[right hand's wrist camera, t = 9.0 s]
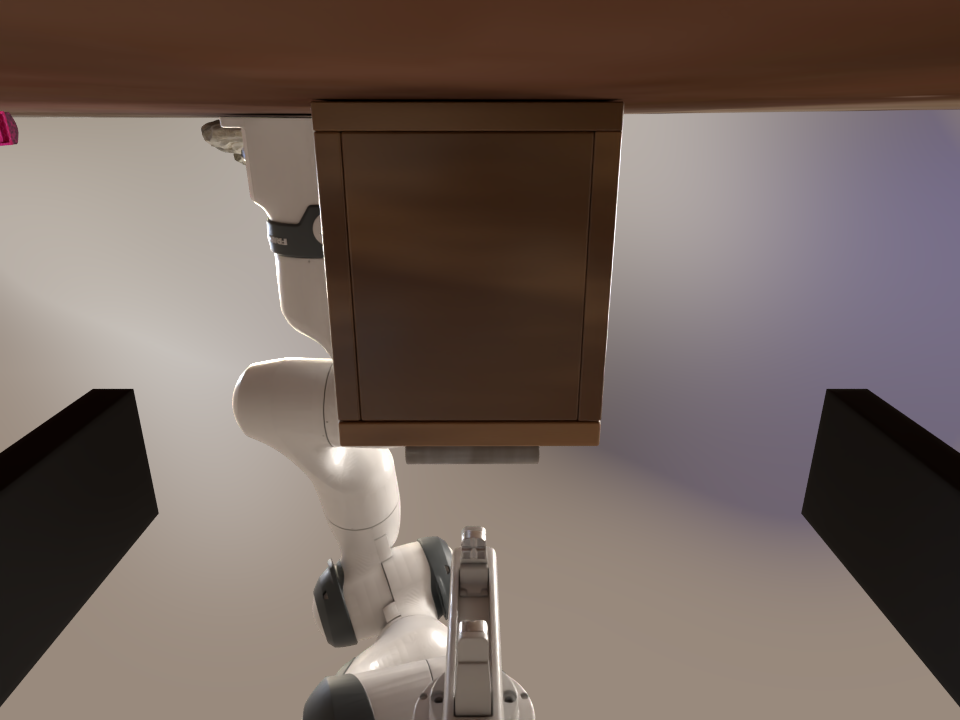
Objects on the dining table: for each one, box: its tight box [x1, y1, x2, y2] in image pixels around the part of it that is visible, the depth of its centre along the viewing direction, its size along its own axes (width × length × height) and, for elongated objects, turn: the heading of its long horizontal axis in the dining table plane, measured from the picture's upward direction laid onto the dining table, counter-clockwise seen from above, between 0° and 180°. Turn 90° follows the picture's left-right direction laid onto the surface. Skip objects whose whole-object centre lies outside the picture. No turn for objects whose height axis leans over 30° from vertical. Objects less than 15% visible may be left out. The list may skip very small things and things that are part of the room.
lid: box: [338, 418, 601, 464], centre depth 33 cm, size 16×10×9 cm, turn 0°
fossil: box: [201, 120, 246, 165], centre depth 99 cm, size 18×11×15 cm
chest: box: [311, 101, 624, 421], centre depth 29 cm, size 15×10×11 cm, turn 0°
